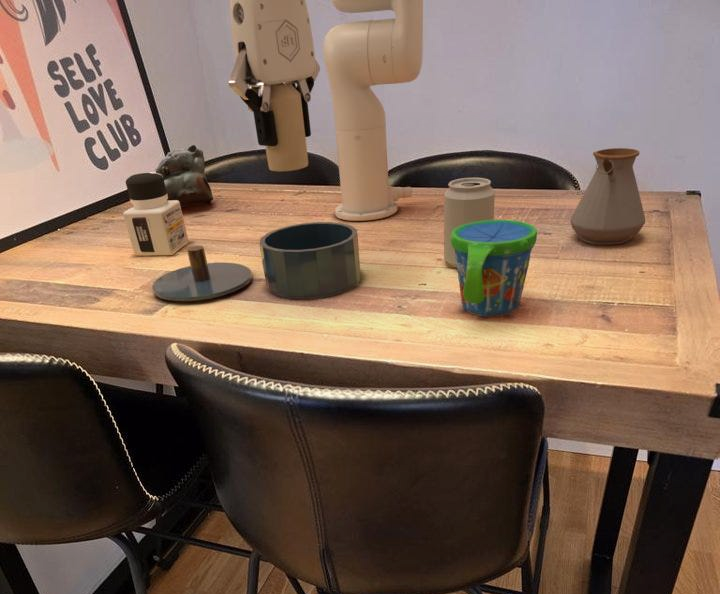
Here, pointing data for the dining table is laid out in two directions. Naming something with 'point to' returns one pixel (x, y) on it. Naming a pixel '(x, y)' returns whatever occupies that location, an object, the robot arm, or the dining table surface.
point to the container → (153, 217)
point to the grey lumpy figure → (185, 176)
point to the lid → (201, 279)
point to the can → (465, 208)
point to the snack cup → (492, 264)
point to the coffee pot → (610, 200)
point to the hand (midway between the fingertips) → (285, 139)
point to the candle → (287, 130)
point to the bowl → (311, 260)
